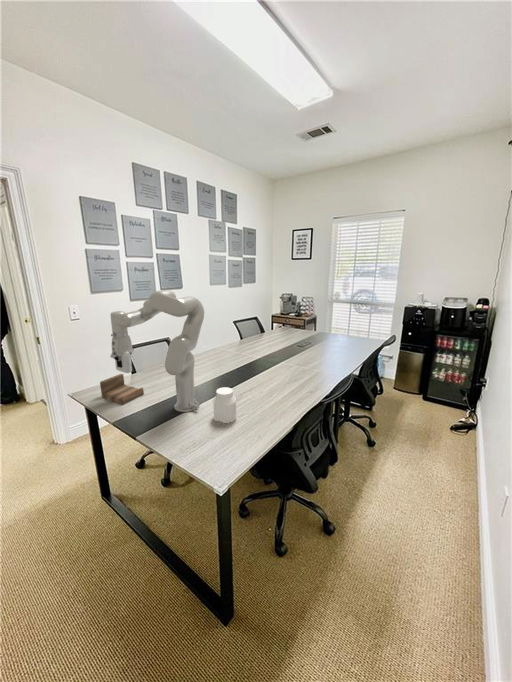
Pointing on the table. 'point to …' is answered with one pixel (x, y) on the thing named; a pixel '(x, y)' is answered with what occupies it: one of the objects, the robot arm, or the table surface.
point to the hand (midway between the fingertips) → (123, 365)
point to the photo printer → (125, 363)
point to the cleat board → (119, 390)
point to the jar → (224, 405)
